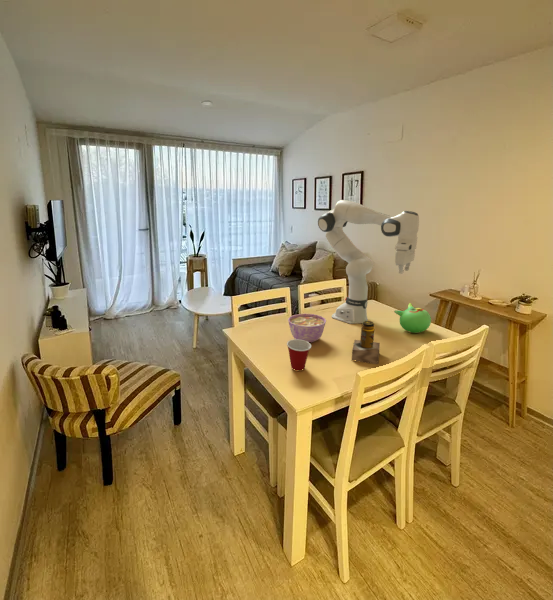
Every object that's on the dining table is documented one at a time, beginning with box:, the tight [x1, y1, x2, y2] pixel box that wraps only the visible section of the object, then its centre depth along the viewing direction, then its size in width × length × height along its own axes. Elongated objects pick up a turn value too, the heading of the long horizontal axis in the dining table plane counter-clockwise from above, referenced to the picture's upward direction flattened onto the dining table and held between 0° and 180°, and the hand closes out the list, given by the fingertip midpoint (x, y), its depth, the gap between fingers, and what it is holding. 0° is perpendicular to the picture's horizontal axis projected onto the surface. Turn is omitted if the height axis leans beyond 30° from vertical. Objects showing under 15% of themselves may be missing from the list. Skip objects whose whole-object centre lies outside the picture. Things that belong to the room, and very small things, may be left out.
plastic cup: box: [286, 338, 312, 370], centre depth 148 cm, size 11×11×12 cm
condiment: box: [353, 320, 376, 350], centre depth 157 cm, size 7×8×12 cm
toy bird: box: [393, 302, 432, 334], centre depth 190 cm, size 18×17×15 cm
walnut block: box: [351, 339, 381, 365], centre depth 160 cm, size 12×12×6 cm
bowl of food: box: [287, 313, 327, 343], centre depth 178 cm, size 20×20×12 cm
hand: (403, 271), depth 171 cm, fingers open, 8 cm apart
